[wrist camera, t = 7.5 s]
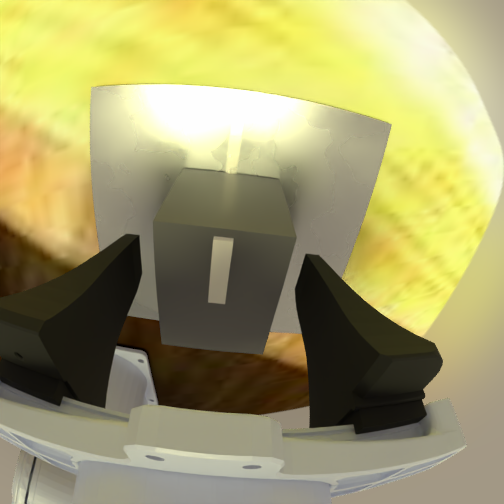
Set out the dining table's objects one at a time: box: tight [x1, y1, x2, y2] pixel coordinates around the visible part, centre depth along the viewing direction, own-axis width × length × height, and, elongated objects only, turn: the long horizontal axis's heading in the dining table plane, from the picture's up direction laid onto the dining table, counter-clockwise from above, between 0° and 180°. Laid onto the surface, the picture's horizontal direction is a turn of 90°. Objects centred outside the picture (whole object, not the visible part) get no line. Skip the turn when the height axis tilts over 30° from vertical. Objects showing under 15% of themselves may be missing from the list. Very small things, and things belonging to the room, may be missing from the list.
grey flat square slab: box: [90, 84, 392, 334], centre depth 13 cm, size 14×14×3 cm
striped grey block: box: [153, 168, 297, 354], centre depth 12 cm, size 6×4×5 cm
